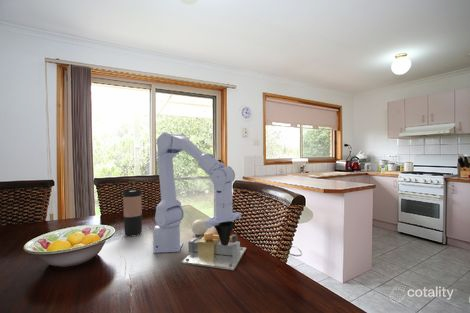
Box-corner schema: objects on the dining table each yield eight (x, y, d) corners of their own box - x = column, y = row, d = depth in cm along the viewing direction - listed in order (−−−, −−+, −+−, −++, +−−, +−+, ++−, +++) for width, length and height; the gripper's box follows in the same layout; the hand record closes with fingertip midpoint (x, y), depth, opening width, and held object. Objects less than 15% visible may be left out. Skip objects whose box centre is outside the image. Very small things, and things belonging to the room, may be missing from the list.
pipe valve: (187, 253, 81) (187, 240, 81) (194, 247, 87) (194, 235, 87) (236, 258, 76) (236, 245, 76) (240, 251, 82) (240, 239, 82)
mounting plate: (181, 263, 75) (181, 260, 75) (201, 244, 90) (201, 242, 90) (233, 270, 70) (233, 267, 70) (246, 249, 85) (246, 246, 85)
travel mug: (120, 235, 103) (119, 191, 103) (133, 230, 110) (132, 188, 110) (133, 237, 100) (132, 192, 100) (145, 232, 107) (145, 189, 107)
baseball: (205, 237, 98) (205, 222, 98) (189, 237, 99) (189, 221, 99) (210, 232, 104) (209, 218, 104) (195, 231, 106) (194, 217, 106)
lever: (202, 239, 81) (202, 234, 81) (206, 236, 84) (206, 231, 84) (236, 242, 77) (236, 237, 77) (238, 239, 80) (238, 234, 80)
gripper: (215, 209, 67) (216, 255, 67) (247, 201, 78) (248, 241, 78) (200, 205, 72) (201, 248, 72) (232, 199, 82) (233, 236, 83)
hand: (224, 244), depth 75 cm, fingers closed
